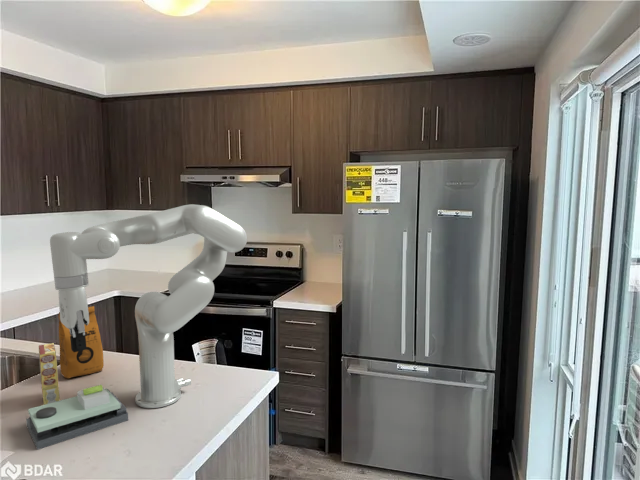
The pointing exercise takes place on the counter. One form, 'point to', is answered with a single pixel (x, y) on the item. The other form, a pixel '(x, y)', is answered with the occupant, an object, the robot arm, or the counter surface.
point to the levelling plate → (74, 408)
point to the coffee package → (85, 359)
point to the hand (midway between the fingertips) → (79, 350)
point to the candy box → (49, 373)
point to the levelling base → (76, 427)
